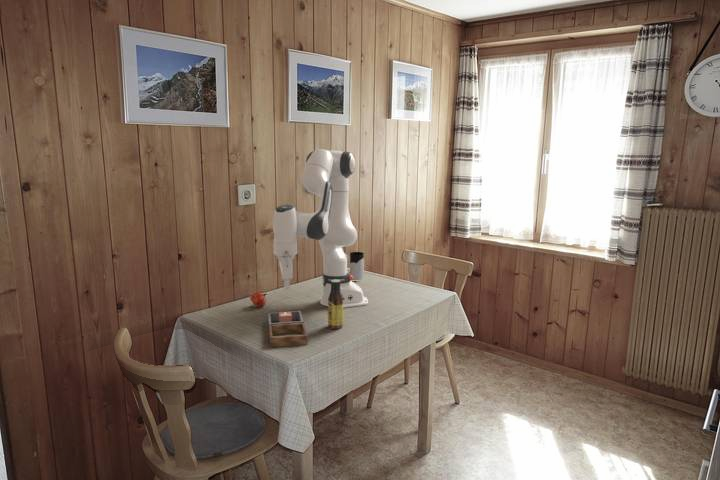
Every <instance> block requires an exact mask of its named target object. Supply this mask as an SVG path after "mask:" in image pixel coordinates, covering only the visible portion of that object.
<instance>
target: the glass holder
mask: <svg viewBox="0 0 720 480" xmlns="http://www.w3.org/2000/svg"><path fill="white" fill-rule="evenodd" d="M345 255H346V257H347V263H349V269H347V273H349V274H351V275H352V276H353V280H363V279H365V258H364V257H365V255H364V252H362V251H361V252H360V251H352V252H349V255H348V254H347V253H345Z"/></svg>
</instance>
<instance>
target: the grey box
mask: <svg viewBox="0 0 720 480" xmlns="http://www.w3.org/2000/svg"><path fill="white" fill-rule="evenodd" d="M279 312H280V311H279ZM279 312H268V313H267V316H268V320H267V321H268V326H269V325H280V324H295V323H304V324H305V322H304V319H303V315H302V312H301V310H295V311H294V310H292V311H290V312H291V314H292V322H281V323H279ZM297 320H298V321H297ZM268 332H269V333H270V330H268Z"/></svg>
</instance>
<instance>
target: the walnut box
mask: <svg viewBox="0 0 720 480" xmlns="http://www.w3.org/2000/svg"><path fill="white" fill-rule="evenodd" d="M268 329H269V330H270V332H269V343H270V348H274V347H275V348H276V346H277V347H287V346H289V347H290V346H300V345H301V346H302V345H308V333H307V329H306V326H305V322H304V323H295V324H280V325H269V324H268ZM269 330H268V331H269ZM293 333H295V334H296V335H294V334H293ZM297 333H302V334H297ZM278 334H279V335H280V334H281V335H282V334H293V335H282V336H273V335H278Z"/></svg>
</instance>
